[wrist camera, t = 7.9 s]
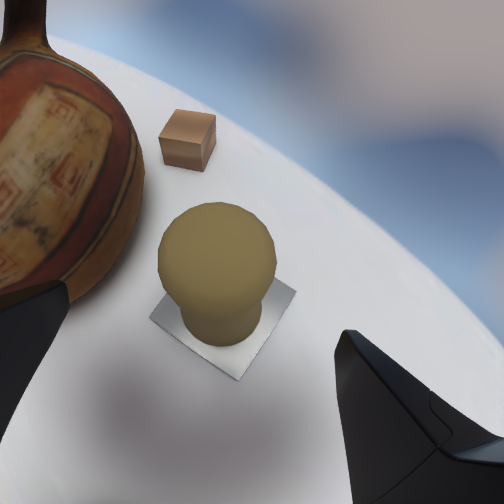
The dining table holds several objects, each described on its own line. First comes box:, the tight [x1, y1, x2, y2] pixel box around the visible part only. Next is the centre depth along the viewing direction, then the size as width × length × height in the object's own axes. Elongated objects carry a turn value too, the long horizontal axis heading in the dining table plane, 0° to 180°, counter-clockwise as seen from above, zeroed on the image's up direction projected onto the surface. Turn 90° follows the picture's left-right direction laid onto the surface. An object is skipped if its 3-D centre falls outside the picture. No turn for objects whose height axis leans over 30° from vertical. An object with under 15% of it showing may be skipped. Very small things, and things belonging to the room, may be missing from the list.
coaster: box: [149, 277, 297, 381], centre depth 22 cm, size 8×8×1 cm
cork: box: [158, 202, 277, 347], centre depth 16 cm, size 6×6×11 cm
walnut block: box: [158, 109, 216, 172], centre depth 26 cm, size 4×4×4 cm
